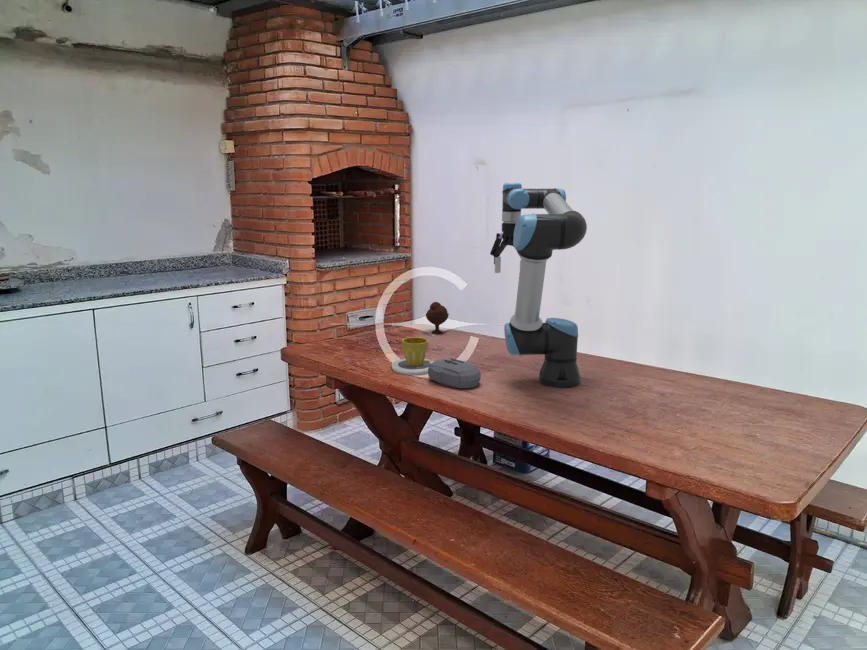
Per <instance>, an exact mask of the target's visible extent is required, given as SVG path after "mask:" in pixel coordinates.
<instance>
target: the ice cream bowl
mask: <svg viewBox="0 0 867 650" xmlns="http://www.w3.org/2000/svg"><path fill="white" fill-rule="evenodd" d="M449 314H450V313H449V312H448V308H446V306H444V305H442V304H441V303H440V302H438V301H433V302H431V304H430V305H429V309H428V310H427V312H426V313H425V318H426V320H427V321H428V322H429V323H431V324H432V325H433V326H435V327H434V328H435V329H433V330H432V331H431V334H432V335H442V334H443V333H444V332H443V331H442V330H440V325H442V324H444V323H445V322H446V321H447V320H448V318H449Z"/></svg>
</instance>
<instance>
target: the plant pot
mask: <svg viewBox="0 0 867 650" xmlns="http://www.w3.org/2000/svg"><path fill="white" fill-rule="evenodd" d="M401 349H402V350H403V352H404V353H403V354H404V357H405V358H404V359H406V363H407V365H409V366H421V365H423V363H424V359H426V353H427V350H428V349H429V340H428V338H425V337H419V336H409V337H405V338H403V339H402V340H401Z"/></svg>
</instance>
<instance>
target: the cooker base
mask: <svg viewBox="0 0 867 650" xmlns="http://www.w3.org/2000/svg"><path fill="white" fill-rule="evenodd" d="M435 361H436V360H435ZM435 361H434V360H432V359H428V358H425V359H424V363H423V365H421V366H409V365H407V363H406V358H402V359H398V360H394V361H393V362H392V363H391V370H392V371H393V372H394V373H397V374H400V375H406V376H421V375H428V368H429V366H430V364H431V363H433V362H435Z"/></svg>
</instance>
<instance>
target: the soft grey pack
mask: <svg viewBox="0 0 867 650" xmlns="http://www.w3.org/2000/svg"><path fill="white" fill-rule="evenodd" d="M427 375H428V377H429V379H430V380H432V381H433V382H435V383H437V384H439V385H443V386H446V387H450V388H455V389H470V388H475V387H477V386H479V384H480V380H481V377H482V375H481V370H480V369H479V368H478V367H477V366H476V365H475V364H473V363H471V362H468V361H464V360H461V359H457V358H452V357H451V358H446V359H445V358H442V359H439V360H435V362H433V363H431V364H430V366H429V368H428V374H427Z"/></svg>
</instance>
